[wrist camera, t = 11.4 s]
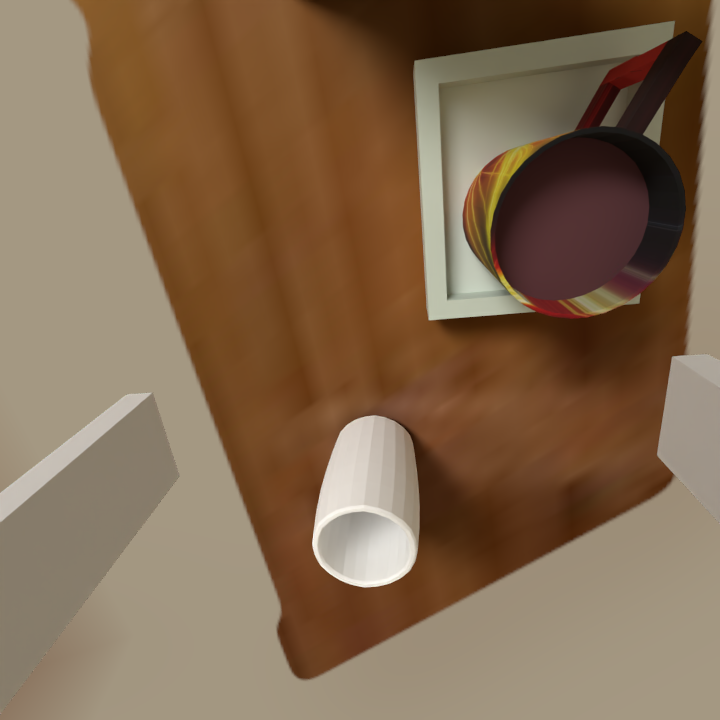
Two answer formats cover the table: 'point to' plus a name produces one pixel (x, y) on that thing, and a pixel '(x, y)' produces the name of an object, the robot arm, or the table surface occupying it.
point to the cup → (369, 505)
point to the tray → (503, 139)
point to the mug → (586, 200)
